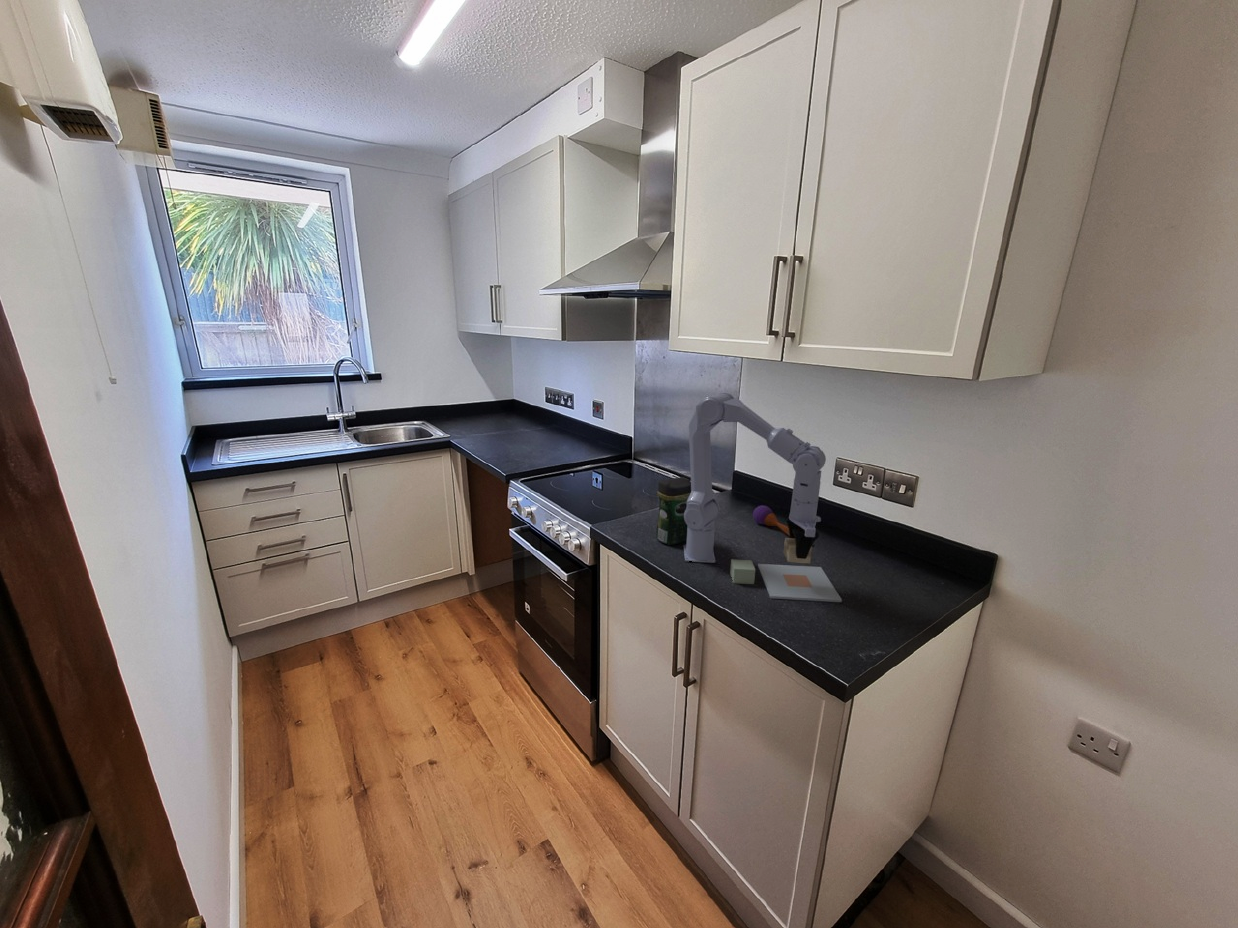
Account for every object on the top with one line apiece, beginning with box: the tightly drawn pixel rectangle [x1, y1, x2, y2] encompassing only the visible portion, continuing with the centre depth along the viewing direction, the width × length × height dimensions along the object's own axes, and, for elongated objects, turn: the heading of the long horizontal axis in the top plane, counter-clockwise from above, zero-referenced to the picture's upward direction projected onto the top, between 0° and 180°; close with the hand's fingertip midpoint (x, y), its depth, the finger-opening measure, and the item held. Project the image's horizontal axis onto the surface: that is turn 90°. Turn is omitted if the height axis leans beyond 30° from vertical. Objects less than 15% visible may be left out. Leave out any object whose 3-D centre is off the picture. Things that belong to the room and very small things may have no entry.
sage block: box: [729, 558, 756, 585], centre depth 126 cm, size 5×5×4 cm
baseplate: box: [757, 563, 843, 603], centre depth 124 cm, size 16×16×1 cm
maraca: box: [752, 505, 790, 537], centre depth 154 cm, size 6×6×20 cm
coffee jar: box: [655, 476, 691, 546], centre depth 145 cm, size 10×8×19 cm
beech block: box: [783, 537, 813, 564], centre depth 121 cm, size 5×5×4 cm
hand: (798, 552), depth 122 cm, fingers closed on beech block, 5 cm apart
